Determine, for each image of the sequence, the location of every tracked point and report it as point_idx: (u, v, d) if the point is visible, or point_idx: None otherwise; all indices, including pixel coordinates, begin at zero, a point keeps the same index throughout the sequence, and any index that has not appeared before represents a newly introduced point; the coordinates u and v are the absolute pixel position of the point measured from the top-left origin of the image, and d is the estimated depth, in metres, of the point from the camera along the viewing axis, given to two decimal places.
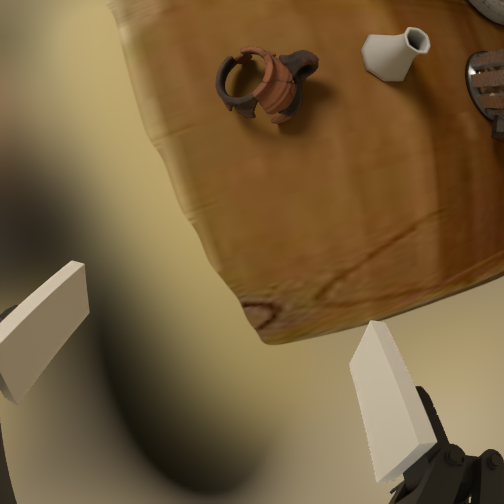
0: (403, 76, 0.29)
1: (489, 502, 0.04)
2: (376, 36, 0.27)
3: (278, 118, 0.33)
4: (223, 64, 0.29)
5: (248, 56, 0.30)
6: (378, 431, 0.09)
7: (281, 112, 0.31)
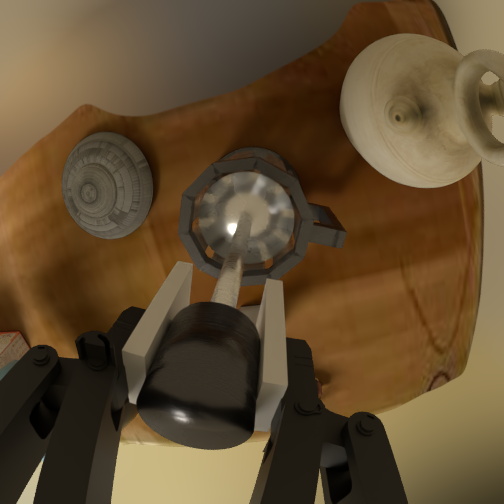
0: None
1: (375, 476, 0.05)
2: None
3: (319, 394, 0.47)
4: None
5: None
6: None
7: None
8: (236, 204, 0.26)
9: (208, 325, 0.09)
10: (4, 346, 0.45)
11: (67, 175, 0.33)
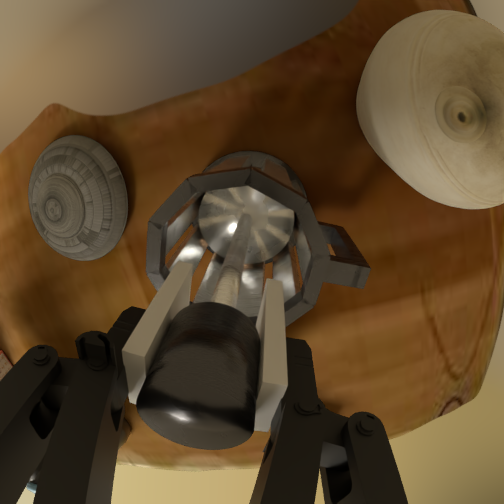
0: None
1: (375, 476, 0.05)
2: None
3: None
4: None
5: None
6: None
7: None
8: (236, 205, 0.26)
9: (208, 325, 0.09)
10: None
11: (32, 188, 0.26)
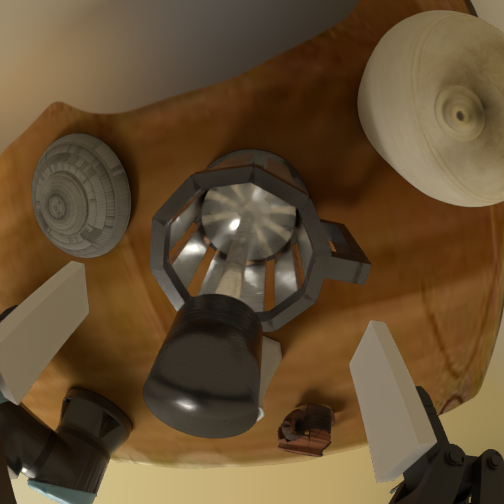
0: (276, 352, 0.35)
1: (489, 502, 0.04)
2: None
3: (332, 423, 0.40)
4: (288, 451, 0.42)
5: (280, 433, 0.43)
6: (378, 431, 0.09)
7: (330, 432, 0.39)
8: (239, 202, 0.26)
9: (213, 315, 0.10)
10: None
11: (35, 185, 0.27)
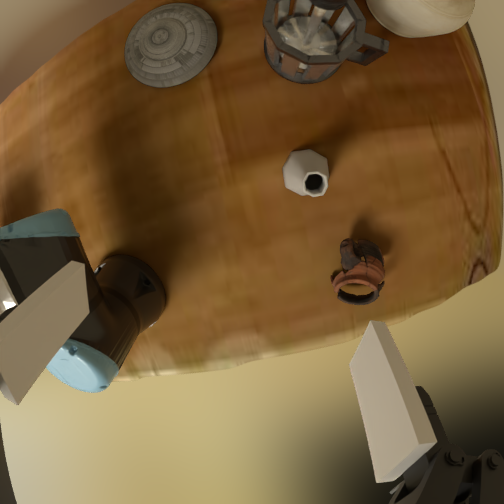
0: (326, 162, 0.41)
1: (489, 502, 0.04)
2: (291, 187, 0.42)
3: (382, 261, 0.46)
4: (343, 300, 0.47)
5: (333, 279, 0.48)
6: (378, 431, 0.09)
7: (383, 264, 0.44)
8: (300, 32, 0.32)
9: None
10: None
11: (137, 30, 0.32)
